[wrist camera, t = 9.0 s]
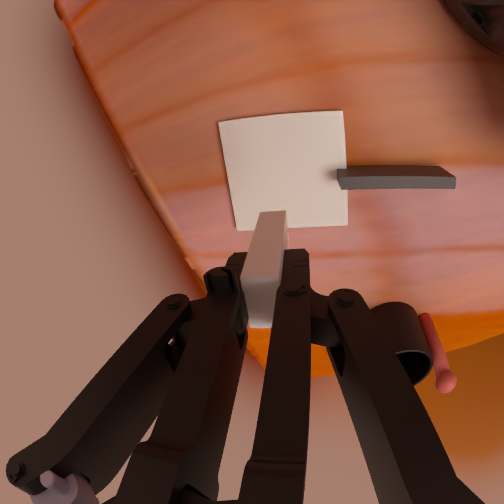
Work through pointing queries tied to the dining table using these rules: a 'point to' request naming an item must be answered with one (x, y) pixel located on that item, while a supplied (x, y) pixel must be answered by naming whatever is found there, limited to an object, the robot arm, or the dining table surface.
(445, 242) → the dining table surface
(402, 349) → the mug
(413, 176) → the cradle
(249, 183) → the plate
